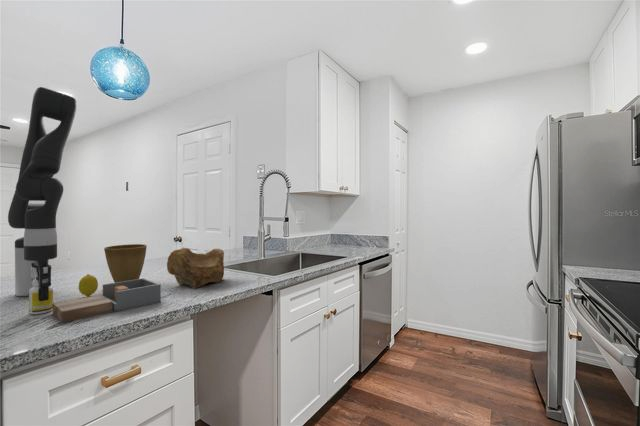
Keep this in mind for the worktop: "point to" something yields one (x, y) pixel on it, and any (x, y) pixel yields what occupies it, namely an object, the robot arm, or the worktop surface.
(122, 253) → the plant pot
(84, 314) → the brown wavy slab
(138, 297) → the box
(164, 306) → the worktop surface
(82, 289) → the lemon
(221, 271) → the rough brown rock
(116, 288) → the block
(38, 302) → the supplement bottle
